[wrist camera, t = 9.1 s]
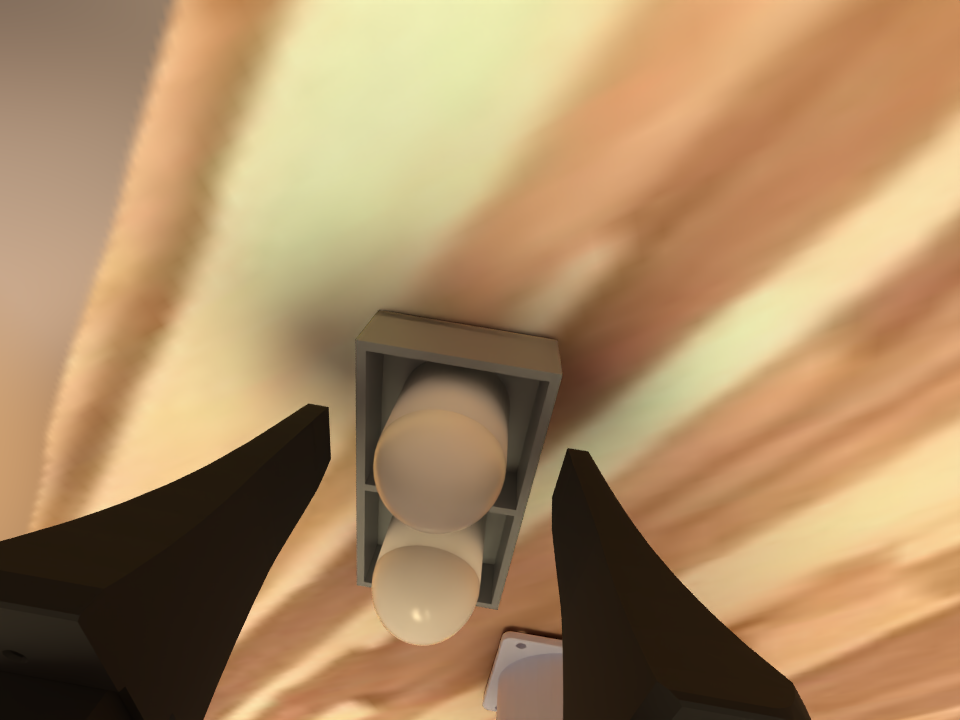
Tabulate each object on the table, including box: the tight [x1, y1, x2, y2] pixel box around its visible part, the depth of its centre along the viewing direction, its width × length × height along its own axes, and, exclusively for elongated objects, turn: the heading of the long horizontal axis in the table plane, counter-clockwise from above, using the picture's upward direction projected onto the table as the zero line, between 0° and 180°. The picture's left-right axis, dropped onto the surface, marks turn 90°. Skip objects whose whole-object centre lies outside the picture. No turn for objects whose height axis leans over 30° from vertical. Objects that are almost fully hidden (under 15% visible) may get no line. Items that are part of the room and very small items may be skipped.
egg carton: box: [356, 310, 563, 610], centre depth 16 cm, size 6×12×2 cm, turn 172°
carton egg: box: [372, 514, 487, 646], centre depth 16 cm, size 4×4×5 cm
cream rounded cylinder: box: [373, 361, 510, 534], centre depth 13 cm, size 4×4×5 cm
